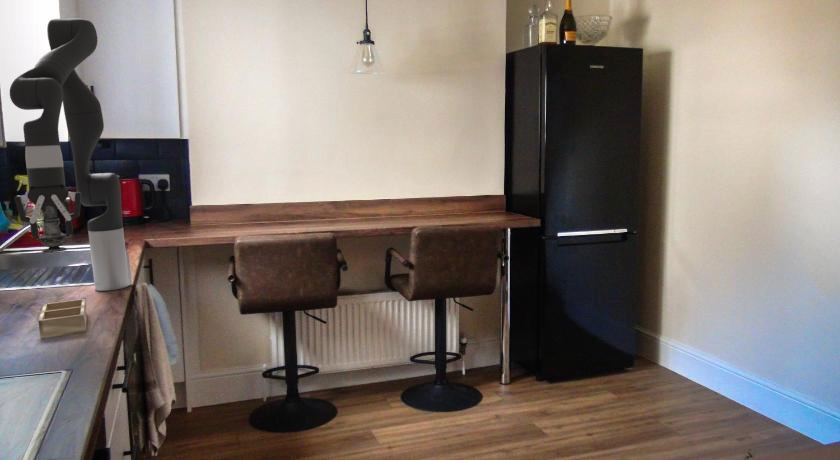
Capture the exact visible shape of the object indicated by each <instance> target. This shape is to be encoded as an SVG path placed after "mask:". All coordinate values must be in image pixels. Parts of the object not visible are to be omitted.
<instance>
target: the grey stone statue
mask: <svg viewBox="0 0 840 460" xmlns="http://www.w3.org/2000/svg"><path fill="white" fill-rule="evenodd" d="M42 212H43V219H42V220H41V221H42V222H43V226H44V232H43V234H42V235H39V240H40V242H41V244H42V245H43V246H45V247H46V248H44V249H43V250H41V253H42V254H43V253H45V254H46V253H48V254H49V253H57V252H58V253H59V252H65V251H68V249H67V248H66V247H62V245H64V244H65V242H66V239H67V236H66V233H63V232H62V231H61V229H60V223H59V221H60V218H59V217H58V209H54V208H53V207H52V206H47V207H46V208H45V210H42ZM60 246H61V247H60ZM47 247H48V248H47Z"/></svg>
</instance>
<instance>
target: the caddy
mask: <svg viewBox="0 0 840 460" xmlns="http://www.w3.org/2000/svg"><path fill="white" fill-rule="evenodd" d="M87 311H88V310H87V303H86V298H80V299H72V300H71V299H70V300H64V301H56V302H54V301H53V302H47V303H44V304H43V306H42V308H41V312H40V315H39V318H38V329H39V337H40V339H48V338H52V337H60V336H68V335H72V334H73V335H74V333H75V334H81V333H86V331H87V318H88V312H87Z"/></svg>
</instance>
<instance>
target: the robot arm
mask: <svg viewBox="0 0 840 460" xmlns="http://www.w3.org/2000/svg"><path fill="white" fill-rule="evenodd" d="M46 31H47V39H48V45H49V48H50V51H48V52H46V53H44V54H43V55H42V56H41V57H40V58H39V60H37V62H36V64H35V65H34V67H33V68H31V69H28V70H27V71H25V72H23V73H22V74H20V75H19V76H17V77H15V79H14V80H13V82H12V83H11V84H10V88H9V99H10V101H11V103H12V104H13V105H14V106H15V107H17V108H18V109H21V110H24V111H25V110H26V111H30V110H32V111H33V110H42V113H41V115H40V116H39V117H38V118H35V119H30V120H28V121H25V122H24V123H23V125H22V126H23V135H24V136H23V138H24V146H25V148H24V149H25V152H24V153H25V155H24V156H25V164H26V173H27V174H26V175H27V183H28V192H27V194H21V195H16V196H14V199H13V200H14V202H15V206H16V210H17V212H18V216H19V219H20V221H21V222H24V223H25V222H26V223H28V224H29V225H30V233H31V237H32V238H34V240H35V241H36V240H40V238H39V236H40V230H39V223H38V222H37V221H38V218H39V216H40V213H41V212H42V211H43V210H45V208H46V207H47V206H52V207H53V208H54V209H57V210H59V212H60V213H61V214H62V216H63V217H64V219H65V221H64V226H65V234H66V238H70V237H71V235H72V234H73V232H74V228H73V220H74V219H77V218H79V217H80V215H81V205H82V206H84V207H102V206H105V207H107V208H106V210H105V212H104V213H102V214H101V215H99V216H96V217H94V218H91V219H89V220H88V221H87V232H88V233H87V234H88V241H89V247H90V248H89V249H90V256H91V266H92V275H93V283H94V290H96V291H99V292H104V291H106V292H107V291H115V290H121V289H125V288H127V287H128V288H129V286H130V285H132V284H133V283H132V274H131V264H130V254H129V252H127V250H126V243H125V242H126V241H125V234H124V233H125V232H124V223H123V222H124V221H123V209H122V190H121V189H122V187H121V182H120V178H119V177H118V175H117V174H116V173H114V172H103V173H101V172H100V173H91V172H90V171H91V170H90V163H91V162H90V161H91V158H92V155H93V152H94V150H95V148H96V146H97V145H98V143H99V140H100V138H101V137H102V134H103V133H104V126H105V124H104V117H103V111H102V106H101V103H100V101H99V99H98V97H97V96H96V95H95V93H93V91H92V90H91V89H90V88H89V86H88V85H86V83H85V82H84V81H83V80H82V78H80V76H79V74H78V73H77V71H76V70H75V69H76V68H77V67H78V66H79V65H80V64H82V63H83V62H84V61H85V60H86V59H88V58H89V56H91V55H93V53H95V50H96V49H97V47H98V46H97V45H98V33H97V29H96V27H95V25H94V24H93V22H91V20H90V19H86V18H52V19H50V20H49V21H48V22H47V28H46ZM62 106H63V112H64V116H65V117H64V119H65V123H66V128H67V131H68V137H69V141H70V146H71V152H72V160H73V167H74V177H75V185H76V192H75V191H69V190H68V188H67V186H66V177H65V168H64V160H63V153H62V149H61V145H60V134H59V122H60V117H61V116H60V115H61V110H62ZM68 197H70V200H71V201H72V202H74V203H73V204H74V205H73V206H74V209H73V213H70V212H69V210H68V209H67V207H66V205H65V204H64V203H65V201H66V200H67V198H68ZM27 200H29V201H30V202H31V203H32V204H33V205H34V209H33V211H32V213H31V216H28V214H27V211H26V207H25V204H27Z"/></svg>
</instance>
